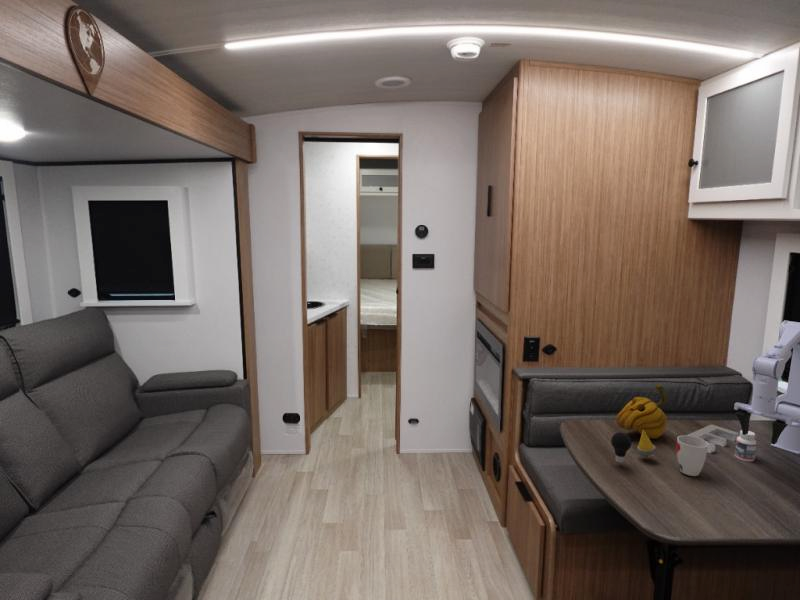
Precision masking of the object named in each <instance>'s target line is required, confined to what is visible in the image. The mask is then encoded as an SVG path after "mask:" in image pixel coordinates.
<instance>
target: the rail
mask: <svg viewBox="0 0 800 600" xmlns="http://www.w3.org/2000/svg"><path fill="white" fill-rule="evenodd" d="M685 436H692V437H697V438H700V439H702V440H704V441H706V442H707V443H708V449H707V454H708V453H709V454H712V453H715V452H716V445H717V446H721V447H723V448H725V447H726V446H727V440H729V441H733V442H736V440H737V437H739V436H740V432H737V431H733V430H730V429H727V428H724V427H720V426H718V425H715V424H709V425H707V426H704V427H703V428H700V429H697V430H695V431H693V432H691V433H688V434H685Z"/></svg>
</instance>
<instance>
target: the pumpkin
mask: <svg viewBox="0 0 800 600" xmlns="http://www.w3.org/2000/svg"><path fill="white" fill-rule="evenodd" d="M655 388H656V389H657V391H658V394H659V395H660V398H661V400H660V401H659V402H658V403H656V402H654V401H653V400H652V399H650V398H647V397H645V396H643V397H642V396H641V397H639V396H636V397H634V398H633V399H632V400H631V399H630V401H629V402H628V403H626V405H625V406H624V407H623V408H622V409H621V410H620V411H618V412H619V413H617V415H616V420H615V421H616V424H617V425H618V427H619V428H620V429H623V430H626V431H627V432H630V431H637V433H639V434H640V435H642V431H643V430H644V431H645V433H646V434H647V436H648V438H649V439H658V438H660V437H661V436H662V435H663V434H664V432H665V430H666V427H667V420H668V419H667V416H666V413H665V412H664V411H663V410H662V409H661V407H662V406H663V405H665V404H666V403H667V402H668V401H667V400H668V397H667V395H666V394H667V393H666V392H665V390H664V388H663V385H662V384H661V383H656V384H655Z"/></svg>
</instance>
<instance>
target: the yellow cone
mask: <svg viewBox="0 0 800 600" xmlns="http://www.w3.org/2000/svg"><path fill="white" fill-rule="evenodd" d="M640 435H641V436H640V439H639V442H638V445H637V446H636V449H637V452H638V454H639V455H640V456H642V457H645V458H647V459H648V458H649V456H651V455H653V454H655V453H656V449H657V448H656V445H654V444H653V443H652V441H651V440H650V439H651V438H648V436H647V434H646V433H645V431H644V430H643V431H642V434H640Z"/></svg>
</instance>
